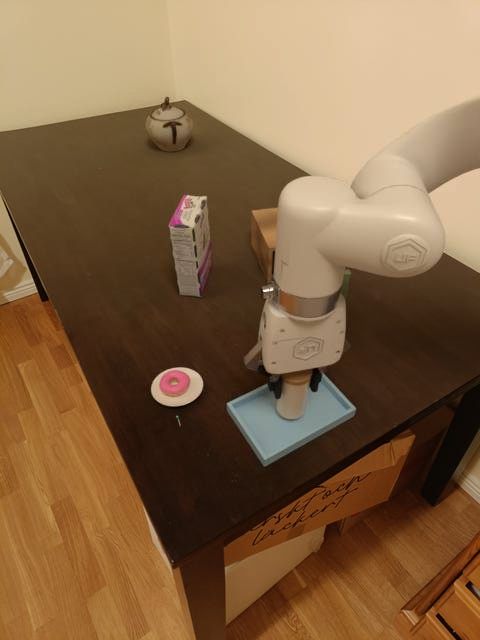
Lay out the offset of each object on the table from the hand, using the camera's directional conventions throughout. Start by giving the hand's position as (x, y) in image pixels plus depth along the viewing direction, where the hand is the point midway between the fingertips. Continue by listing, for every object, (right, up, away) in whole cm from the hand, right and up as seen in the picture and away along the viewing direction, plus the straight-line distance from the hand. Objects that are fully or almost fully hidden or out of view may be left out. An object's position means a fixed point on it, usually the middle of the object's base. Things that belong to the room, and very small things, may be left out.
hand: (293, 386), depth 61 cm
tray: (0, -5, +5) cm, 7 cm away
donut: (-17, -3, +7) cm, 19 cm away
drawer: (+6, +15, +24) cm, 29 cm away
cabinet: (+3, +23, +33) cm, 41 cm away
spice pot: (0, -4, +3) cm, 5 cm away
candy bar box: (-17, +18, +28) cm, 37 cm away
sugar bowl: (-30, +65, +78) cm, 106 cm away
